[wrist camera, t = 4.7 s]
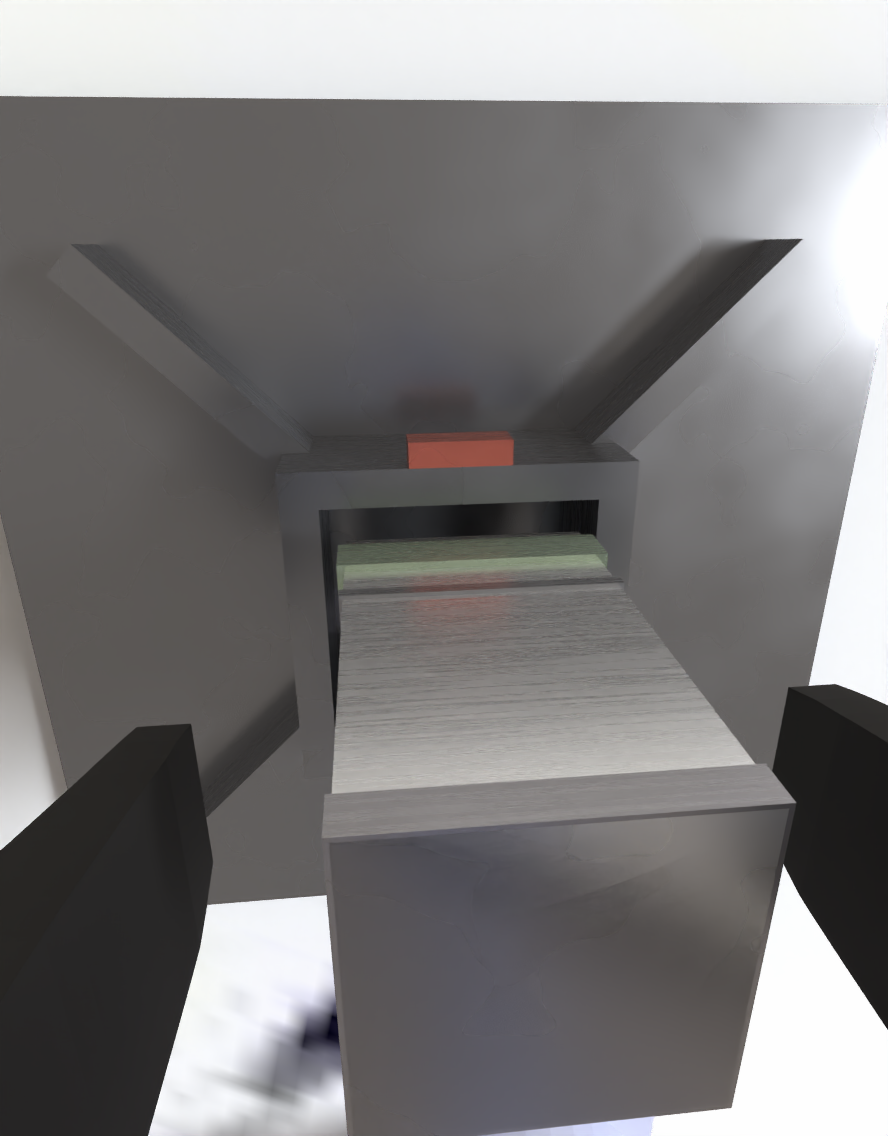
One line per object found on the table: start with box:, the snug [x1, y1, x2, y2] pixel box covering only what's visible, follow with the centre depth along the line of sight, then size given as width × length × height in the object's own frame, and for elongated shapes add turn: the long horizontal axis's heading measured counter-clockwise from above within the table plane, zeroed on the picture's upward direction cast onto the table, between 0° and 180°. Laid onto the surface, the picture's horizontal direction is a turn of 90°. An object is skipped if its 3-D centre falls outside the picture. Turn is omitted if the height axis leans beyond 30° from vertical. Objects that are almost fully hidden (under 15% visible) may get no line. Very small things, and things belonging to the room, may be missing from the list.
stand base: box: [0, 96, 888, 905], centre depth 14 cm, size 16×16×3 cm
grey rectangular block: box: [322, 532, 796, 1136], centre depth 10 cm, size 4×4×6 cm
